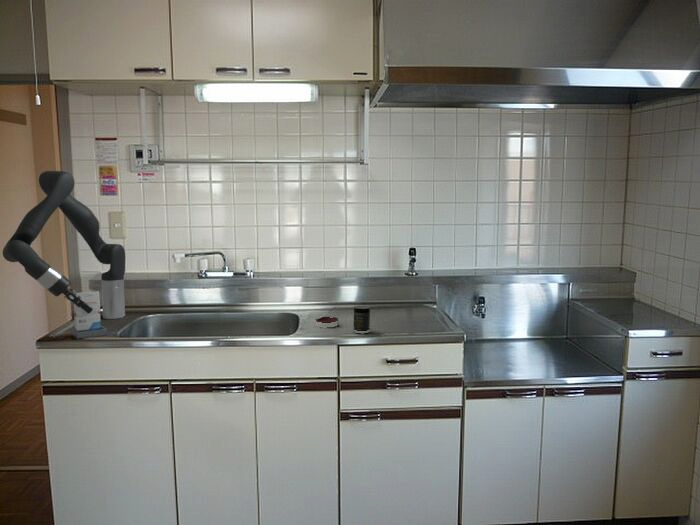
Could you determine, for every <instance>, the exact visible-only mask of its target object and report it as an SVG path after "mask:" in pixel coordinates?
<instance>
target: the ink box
mask: <svg viewBox="0 0 700 525" xmlns="http://www.w3.org/2000/svg"><path fill="white" fill-rule="evenodd" d="M88 295H89V296H88ZM76 296H77V297H78V296H80V297H81V300H82V301H84V302H85V303H86V304H87V305H88V306H89V307H91V308H92V309H93V310H92V311H91V312H90V313H87V312H86V311H84V310H83V309H82V308H79V307H77V305H75V304H73V315H74V316H73V317H74V321H73V322H74V328H75V329H76V330H77V331H82V330H91V329H100V328H101V326H102V325H101V299H100V292H99V290H97V291H86V292H76ZM80 302H81V301H78V302H77V304H79V303H80ZM100 325H101V326H100Z"/></svg>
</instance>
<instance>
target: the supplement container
mask: <svg viewBox="0 0 700 525" xmlns="http://www.w3.org/2000/svg"><path fill="white" fill-rule="evenodd" d="M354 330H357V331H367V330H370V331H371V307H370V306H368V305H355V306H353V331H354Z"/></svg>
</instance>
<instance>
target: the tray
mask: <svg viewBox="0 0 700 525" xmlns="http://www.w3.org/2000/svg"><path fill="white" fill-rule="evenodd" d="M100 326H101V328H100V329H91V330H82V331H77V330H76V329H75V327H74V328H71V330H70V331H71V336H72V335H73V337H74V338H75V337H76V338H75V339H77V338H83V339H88V338H87V337H90V338H96V337H103V336H107V335H108V328H107V327H105V326H102V325H101V324H100Z"/></svg>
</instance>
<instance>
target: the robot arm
mask: <svg viewBox="0 0 700 525" xmlns="http://www.w3.org/2000/svg"><path fill="white" fill-rule="evenodd" d="M74 178H75V177H73V175H72V174H71V173H70V172H67V171H63V170H62V171H61V170H46V171H42V172H41V173H40V175H39V176H38V185H39V187H40V188H41V191H43V193H44V194H45V195H46V197H44V199H42V201H40V202H39V203H38V204H36V205H35V206H34V207H32V208H31V209H30V210H29V211H27V213H26V214H25V216H23V218H22V219H21V222H20V223H19V225H18V227H17V229H16V230H15V231H14V233H13V235H12V236H11V237H10V239H9V240H8V241H7V243H5V245H4V247H3V248H2V256H3V258H4V259H5V260H6V261H8V262H10V263H17V262H18V263H19V264H20V265H21V266H23V268H24V271H25V273H26V274H28V275H29V276H30V277H31V278H33V279H34V280H35V281H37V283H39V285H41V286H42V287H43V288H44V289H46V291H49V293H50V294H52V295H53V296H54V297H59V296H61V294H63V295H64V299H66V300H67V301H69V302H70V303H72V304H73V305H74V304H75V305H77V307H79V308H82V309H83V310H84V311H86V312H87V313H90V312H91V311H92V310H93V309H92V308H91V307H89V306H88V305H87V304H86V303H85V302H84V301H82V300H81V297H80V296H78V297H77V296H76V293H77V291H76V290H74V289H73V288H69V287H70V286H71V284H72V281H71V280H70V279H69V278H68V277H66V276H65V275H64V274H62V273H61V272H60V271H59V270H57V269H56V268H54V267H53V266H51V264H50V263H47V262H46V261H45V260H44V259H42V258H41V257H40V256H39V255H38V253H37V252H36V251H35V250H34V249H33V247H31V245H32V243H33V242H34V241H35V240H36V239H37V238H38V236H39V235H40V233H41V231H42V230H43V228H44V226H45V225H46V223H47V222H48V220H49V219H50V217H51V216H52V215H53V214H54V213H55V212H56V210H57V209H58V208H59V209H60V210H61V212H62V213H63V214H64V216H65V217H66V218H67V219H68V221H69V222H70V224H71V225H72V226H73V227H74V229H75V231H77V232H78V233H79V234H80V236H81V237H82V239H83V240H84V241H85V242H86V244H87V245H88V246H89V248H90V250H91V252H92V253H93V255H94V257H95V258H96V260H97V261H98V263H101V264H103V265H110V266H109V269H108V271H104V272H103V273H101V276H100V279H101V301H102V319H105V320H114V319H122V318H125V317H126V308H125V307H126V305H125V303H126V300H125V279H124V278H125V277H124V276H125V272H126V250H125V247H124V246H123V245H122V244H120V243H119V244H118V243H107V242H105V241H104V240H103V238H102V237H101V236H100V229H101V228H100V222H99V219H98V218H97V216H96V215H95V213H94V212H93V211H92V210H91V209H90V207H88V206H86V205H85V204H84V203H82V202H81V201H79V200H78V199H77V198H75V197H73V195H71V193H72V192H73V190H74V188H75V184H76V183H75V179H74ZM78 301H81V302H80V303H79V304H77V302H78ZM124 316H125V317H124Z"/></svg>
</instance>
